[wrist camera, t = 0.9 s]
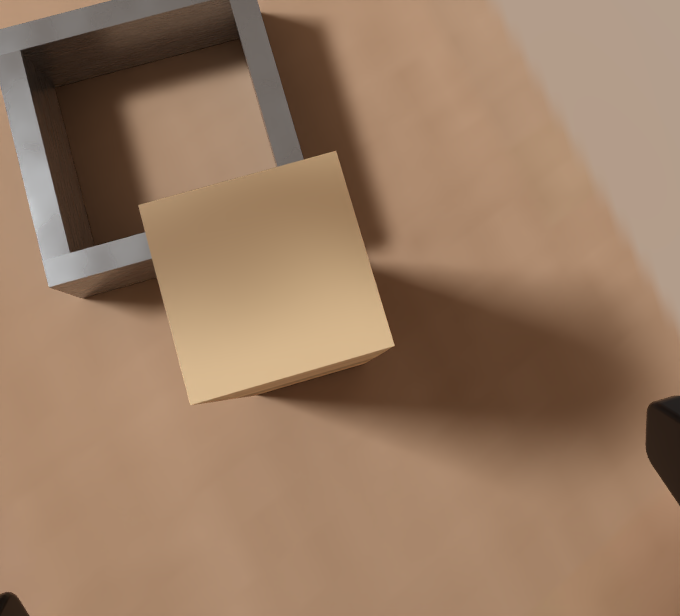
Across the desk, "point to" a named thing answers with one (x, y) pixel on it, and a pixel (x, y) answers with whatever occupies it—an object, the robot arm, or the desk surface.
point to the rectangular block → (265, 280)
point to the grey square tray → (97, 59)
